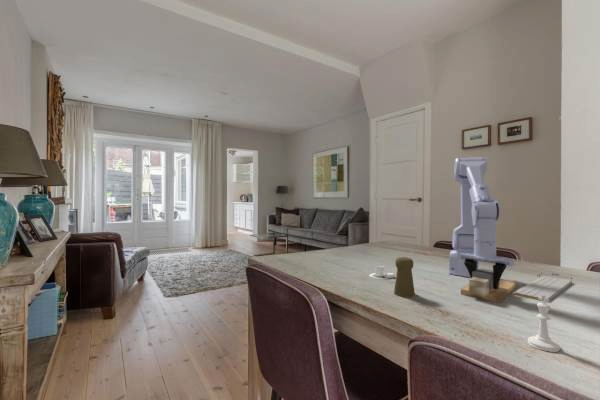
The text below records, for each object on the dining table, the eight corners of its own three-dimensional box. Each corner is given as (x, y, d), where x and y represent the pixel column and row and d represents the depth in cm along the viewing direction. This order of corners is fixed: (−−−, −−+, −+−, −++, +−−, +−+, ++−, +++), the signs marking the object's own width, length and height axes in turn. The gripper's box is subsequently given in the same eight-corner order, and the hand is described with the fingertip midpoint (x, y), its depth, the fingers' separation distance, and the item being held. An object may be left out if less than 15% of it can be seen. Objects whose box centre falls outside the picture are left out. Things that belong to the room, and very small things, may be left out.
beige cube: (469, 293, 85) (469, 279, 85) (473, 290, 88) (473, 276, 88) (485, 296, 83) (485, 282, 82) (489, 293, 85) (489, 279, 85)
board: (460, 294, 89) (460, 289, 89) (482, 280, 104) (482, 275, 104) (499, 302, 82) (499, 297, 82) (516, 286, 97) (516, 281, 97)
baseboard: (505, 295, 90) (547, 304, 82) (505, 285, 90) (547, 294, 82) (535, 278, 109) (572, 284, 101) (535, 270, 109) (572, 276, 101)
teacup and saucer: (397, 278, 108) (397, 267, 108) (383, 282, 104) (383, 270, 104) (379, 273, 115) (379, 263, 115) (364, 276, 111) (364, 265, 111)
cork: (389, 292, 91) (389, 256, 91) (404, 289, 94) (404, 255, 94) (403, 298, 86) (403, 260, 86) (419, 295, 88) (419, 258, 88)
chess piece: (550, 354, 55) (551, 300, 55) (522, 342, 59) (522, 292, 59) (565, 348, 57) (565, 297, 57) (536, 337, 61) (536, 289, 61)
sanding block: (471, 288, 88) (472, 271, 89) (480, 283, 95) (481, 268, 95) (491, 292, 85) (491, 274, 85) (499, 287, 91) (499, 270, 91)
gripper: (454, 240, 92) (454, 283, 92) (510, 245, 81) (510, 294, 81) (462, 237, 96) (462, 279, 96) (516, 242, 86) (516, 289, 86)
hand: (484, 286), depth 89 cm, fingers closed on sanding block, 5 cm apart
